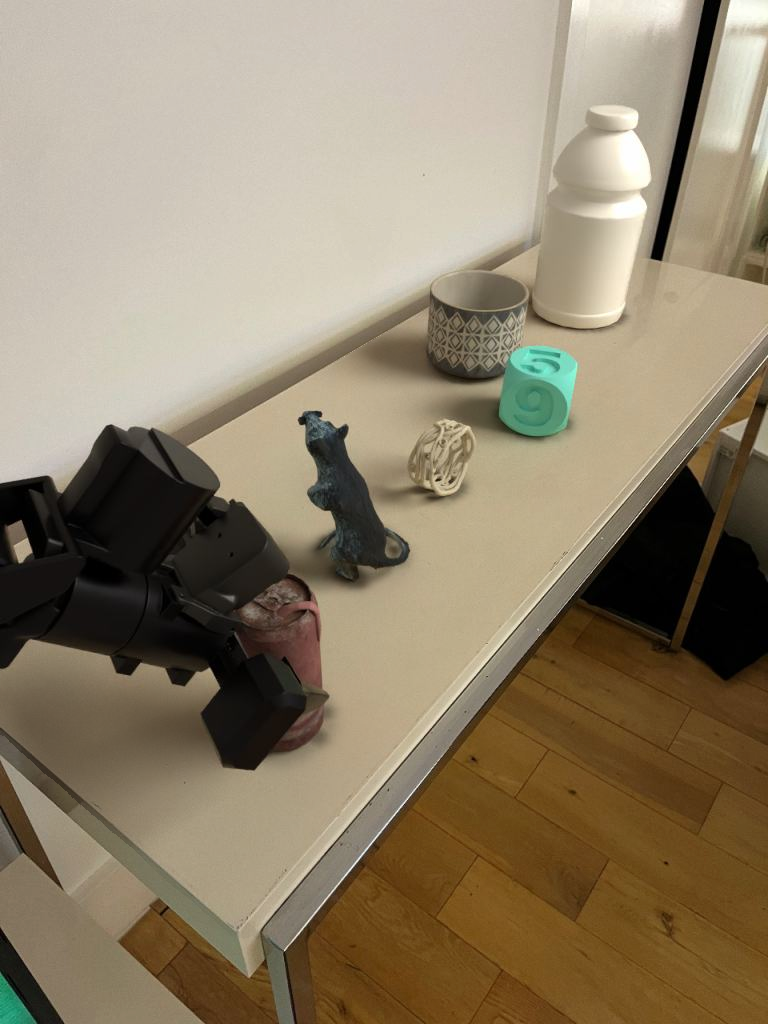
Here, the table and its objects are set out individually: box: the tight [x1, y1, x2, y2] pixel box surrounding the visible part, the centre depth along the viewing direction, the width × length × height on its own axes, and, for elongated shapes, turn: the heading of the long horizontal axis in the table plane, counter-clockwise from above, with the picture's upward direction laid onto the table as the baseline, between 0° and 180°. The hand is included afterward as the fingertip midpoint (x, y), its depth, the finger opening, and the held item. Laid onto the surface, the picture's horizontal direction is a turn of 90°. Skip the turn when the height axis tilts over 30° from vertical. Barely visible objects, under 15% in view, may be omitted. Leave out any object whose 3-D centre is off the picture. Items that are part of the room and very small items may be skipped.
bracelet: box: [407, 418, 477, 497], centre depth 83 cm, size 4×8×8 cm, turn 141°
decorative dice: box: [498, 345, 579, 437], centre depth 93 cm, size 8×8×8 cm
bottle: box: [531, 104, 652, 329], centre depth 110 cm, size 14×14×28 cm
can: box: [231, 572, 325, 752], centre depth 57 cm, size 6×6×14 cm
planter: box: [426, 269, 530, 379], centre depth 103 cm, size 13×13×10 cm
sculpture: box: [297, 410, 411, 582], centre depth 72 cm, size 8×11×15 cm
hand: (297, 655), depth 57 cm, fingers open, 9 cm apart
